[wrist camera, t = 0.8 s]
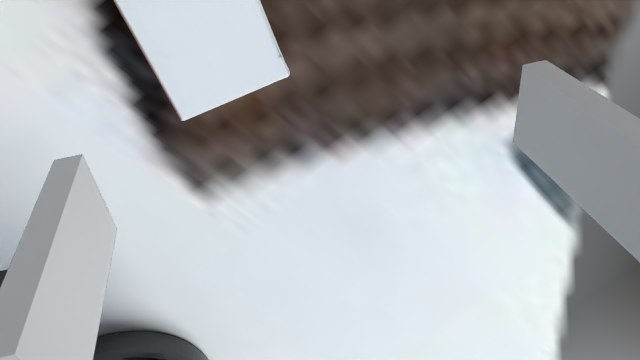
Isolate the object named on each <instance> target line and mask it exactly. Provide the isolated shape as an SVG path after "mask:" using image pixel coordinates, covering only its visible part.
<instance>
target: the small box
mask: <svg viewBox="0 0 640 360" xmlns="http://www.w3.org/2000/svg"><path fill="white" fill-rule="evenodd" d="M113 1H114V2H115V4H116V6H117V8H118V9H119V11H120V13H121V15H122V17H123V18H124V20H125V22H126V24H127V25H128V27H129V29H130V31H131V33H132V34H133V36H134V38H135V39H136V41H137V43H138V45H139V47H140V48H141V50H142V52H143V54H144V56H145V57H146V59H147V61H148V63H149V64H150V66H151V68H152V70H153V71H154V73H155V75H156V77H157V78H158V80H159V82H160V84H161V86H162V87H163V89H164V91H165V93H166V95H167V96H168V98H169V100H170V102H171V103H172V105H173V107H174V109H175V110H176V112H177V114H178V116H179V118H180V120H181V121H185V120H187V119H189V118H192V117H194V116H196V115H199V114H201V113H203V112H206V111H208V110H211V109H213V108H215V107H218V106H220V105H222V104H225V103H227V102H229V101H232V100H234V99H236V98H239V97H241V96H243V95H246V94H248V93H251V92H253V91H255V90H258V89H260V88H262V87H265V86H267V85H269V84H271V83H274V82H276V81H278V80H281V79H283V78H286V77H288V76H289V74H290V72H289V69H288V67H287V65H286V63H285V61H284V58H283V56H282V54H281V52H280V49H279V47H278V45H277V42H276V40H275V37H274V35H273V32H272V30H271V27H270V25H269V22H268V20H267V17H266V15H265V12H264V10H263V7H262V5H261V2H260V0H113Z"/></svg>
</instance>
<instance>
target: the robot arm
mask: <svg viewBox="0 0 640 360" xmlns="http://www.w3.org/2000/svg"><path fill="white" fill-rule="evenodd" d="M513 142H514V143H515V144H516V145H517V146H518V147H519V148H520V149H521V150H522V151H523V152H524V153H525V154H526V155H527V156H528V157H529V158H530V159H531V160H533V161H534V162H535V163H536V164H537V165H538V166H539V167H540V168H541V169H542V170H543V171H544V172H545V173H546V174H547V175H548V176H549V177H550V178H551V179H553V180H554V181H555V182H556V183H557V184H558V185H559V186H560V187H561V188H562V189H563V190H564V191H565V192H566V193H567V194H568V195H569V196H570V197H571V198H573V199H574V200H575V201H576V202H577V203H578V204H579V205H580V206H581V207H582V208H583V209H584V210H585V211H586V212H587V213H588V214H589V215H590V216H592V217H593V218H594V219H595V220H596V221H597V222H598V223H599V224H600V225H601V226H602V227H603V228H604V229H605V230H606V231H607V232H608V233H609V234H611V235H612V236H613V237H614V238H615V239H616V240H617V241H618V242H619V243H620V244H621V245H622V246H623V247H624V248H625V249H626V250H627V251H628V252H629V253H631V254H632V255H633V256H634V257H635V258H636V259H637V260H638V261H639V262H640V119H639V118H637V117H635V116H634V115H632V114H631V113H629V112H627V111H626V110H624V109H623V108H621V107H619V106H618V105H616V104H615V103H613V102H612V101H610V100H608V99H607V98H605V97H604V96H602V95H601V94H599V93H597V92H596V91H594V90H593V89H591V88H589V87H588V86H586V85H585V84H583V83H581V82H580V81H578V80H577V79H575V78H574V77H572V76H570V75H569V74H567V73H566V72H564V71H562V70H561V69H559V68H558V67H556V66H555V65H553V64H551V63H550V62H548V61H547V60H545V61H540V62H535V63H530V64H525V65H523V68H522V76H521V83H520V91H519V99H518V106H517V114H516V122H515V129H514V137H513ZM116 233H117V227H116V225H115V223H114V221H113V219H112V216H111V214H110V212H109V210H108V208H107V206H106V204H105V201H104V199H103V197H102V195H101V193H100V191H99V189H98V186H97V184H96V182H95V180H94V178H93V176H92V173H91V171H90V169H89V167H88V165H87V163H86V161H85V158H84V156H83V154H81V155H76V156H71V157H67V158H62V159H57V160H54V162H53V164H52V166H51V169H50V171H49V173H48V176H47V178H46V181H45V183H44V185H43V188H42V190H41V192H40V195H39V197H38V200H37V202H36V204H35V207H34V209H33V211H32V214H31V216H30V219H29V221H28V223H27V226H26V228H25V230H24V233H23V235H22V238H21V240H20V242H19V245H18V247H17V249H16V252H15V254H14V257H13V259H12V261H11V264H10V266H9V269H8V270H3V271H0V360H208V359H207V357H206V356H205V355H204V354H203V353H202V352H201V351H200V350H199V349H198V348H196V347H195V346H193V345H192V344H190V343H188V342H186V341H184V340H182V339H179V338H177V337H174V336H170V335H166V334H162V333H155V332H144V331H134V332H121V333H114V334H109V335H104V336H100V337H97V335H98V330H99V324H100V319H101V313H102V308H103V303H104V297H105V292H106V287H107V281H108V276H109V270H110V265H111V260H112V254H113V249H114V244H115V238H116Z"/></svg>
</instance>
